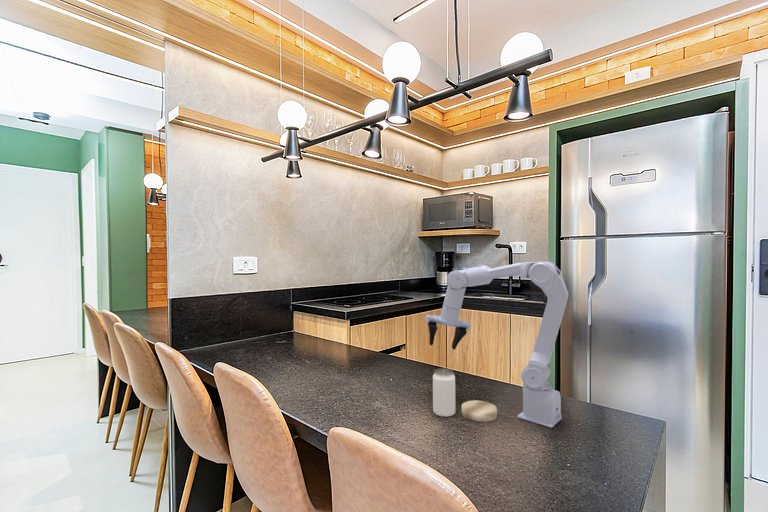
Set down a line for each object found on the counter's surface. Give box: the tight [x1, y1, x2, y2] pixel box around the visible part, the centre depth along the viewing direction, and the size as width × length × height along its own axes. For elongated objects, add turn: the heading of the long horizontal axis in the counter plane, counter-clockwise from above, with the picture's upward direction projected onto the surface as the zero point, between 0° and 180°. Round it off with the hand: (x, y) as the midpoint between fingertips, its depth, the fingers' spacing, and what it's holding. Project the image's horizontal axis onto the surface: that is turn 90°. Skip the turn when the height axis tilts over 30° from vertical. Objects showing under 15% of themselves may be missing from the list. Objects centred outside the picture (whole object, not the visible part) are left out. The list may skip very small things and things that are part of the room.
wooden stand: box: [461, 399, 498, 423], centre depth 105 cm, size 10×10×2 cm
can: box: [432, 368, 456, 418], centre depth 107 cm, size 6×6×12 cm
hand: (442, 346), depth 118 cm, fingers open, 7 cm apart
